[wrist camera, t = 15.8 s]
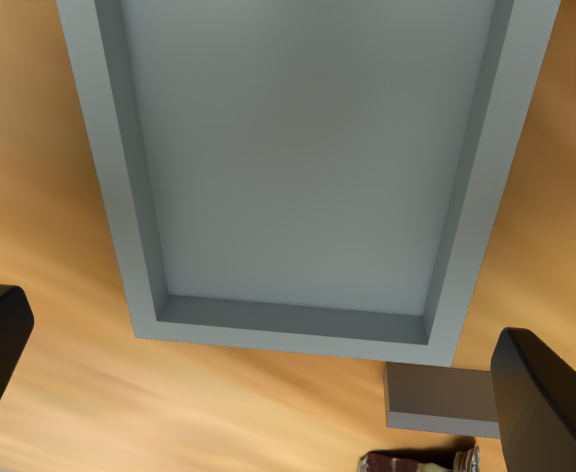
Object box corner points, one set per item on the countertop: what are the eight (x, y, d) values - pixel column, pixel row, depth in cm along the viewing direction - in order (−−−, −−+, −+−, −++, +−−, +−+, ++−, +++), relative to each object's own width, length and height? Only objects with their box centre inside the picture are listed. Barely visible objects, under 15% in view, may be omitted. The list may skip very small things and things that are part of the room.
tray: (564, -147, 11) (608, -159, 9) (441, 322, 20) (450, 366, 18) (70, -149, 12) (18, -160, 10) (155, 298, 21) (135, 337, 19)
